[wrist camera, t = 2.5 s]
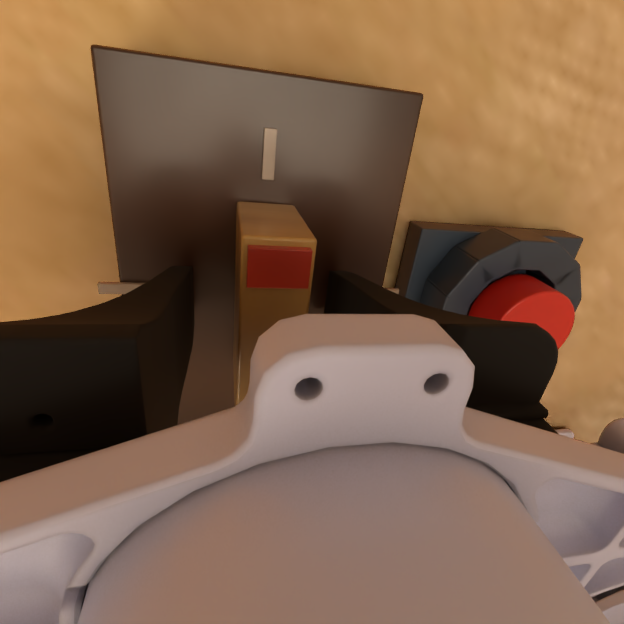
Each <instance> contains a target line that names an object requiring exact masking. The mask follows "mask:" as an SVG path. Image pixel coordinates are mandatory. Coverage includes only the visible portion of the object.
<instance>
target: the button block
mask: <svg viewBox="0 0 624 624" xmlns="http://www.w3.org/2000/svg"><path fill="white" fill-rule="evenodd" d="M582 241H583V238H581V237H578V236H576V235H573V234H571V233H568V232H565V231H557V230H541V229H526V228H511V227H495V226H480V225H464V224H449V223H434V222H418V221H411V222H410V226H409V230H408V234H407V238H406V243H405V247H404V251H403V256H402V260H401V264H400V269H399V273H398V277H397V281H396V286H395V288H398V289H399V293H398V294H399V295H401V296H403V297H406V298H408V299H411V300H413V301H416V302H419V303H422V304H425V305H428V306H431V307H434V308H438V309H442V310H446V311H450V312H454V313H458V314H463V315H468V314H469V311H470V308H471V306H472V304H473V302H474V301H475V299H476V298H477V297H478V295H479V294H480V293H481V292H482V291H483V290H484V289H485V288H486V287H488V286H489V285H490V284H492V283H493V282H495V281H497V280H498V279H500V278H503V277H505V276H509V275H514V274H526V275H530V276H532V277H535V278H536V279H538V280H540V281H542V282H543V283H545V284H547V285H549V286H550V287H552V288H554V289H556V290H557V291H559V292H561V293H562V294H564V295H565V296H567V297H568V298H569V299H570V301H571V303H572V304H573V307H574V312H575V311H576V309H577V307H578V305H579V303H580V301H581V275H580V264H579V263H578V262H577V261H576V260H575V257H576V254H577V252H578V250H579V248H580V246H581V243H582Z"/></svg>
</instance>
